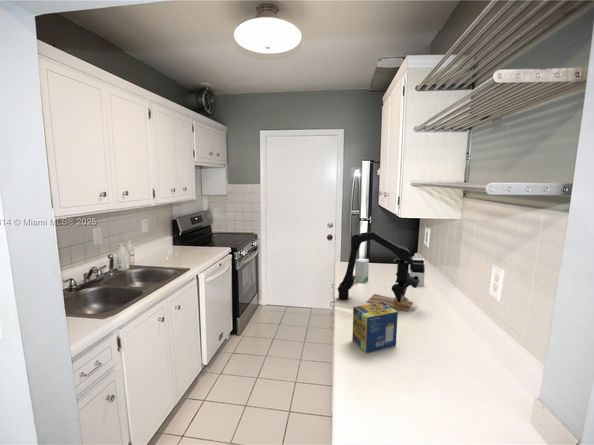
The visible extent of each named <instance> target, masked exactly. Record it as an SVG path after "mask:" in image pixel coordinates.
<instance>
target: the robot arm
mask: <svg viewBox="0 0 594 445" xmlns="http://www.w3.org/2000/svg"><path fill="white" fill-rule="evenodd" d="M371 240H373V241H374V242H376V243H377V244H379V245H380V246H382V247H384V248H386V249H388V250H390V251H391V252H392V254H394V255H395V256H396V258H395V259H393V263H394V264H397V266H396V268H397V269H396V272H395V276H396V280H395V283H394V284H393V285H392V286H391V291H392V292H393V294H394V297H396V299H397V301H398V302H400V301H401V297H402V295H404V296H405V297H406V292H407V290H408V287H409V286H411V287H413V288H414V289H417V288H418V287H419V286H418V284H419V282H420V281H419V278H418V276H414V277H413V276H412V277H411V276H410V270H411V271H412V272H415V273H424V261H425V259H424V260H413V259H412V256H411V254H410V250H409V249H408V248H407V247H405V246H403V245H400V244H396V243H394V242H393V241H391V240H389V239H388V238H385V237H384V236H382V235H381V234H379V233H377V232H376V231H374V230H371V231H367V232H362V233H360V232H355V233H353V235H351V238H350V253H349V254H350V255H349V258H348V263H347V267H346V271H345V275H344V277H343V279H342V282H340V283H339V285H338V286H337V291H338V297H337V299H336V301H337V300H340V301H347V300H349V295H350V294H349V293H350V290H351V288H352V287H354V285H355V277H356V276H355V275H354V271H355V262H356V260H357V259H358V258H357V257H358V252H359V248H360V247H361V244H362V243H365V242H367V241H371Z"/></svg>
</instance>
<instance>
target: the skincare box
mask: <svg viewBox="0 0 594 445" xmlns="http://www.w3.org/2000/svg"><path fill="white" fill-rule="evenodd" d="M369 263H370V259H369V258H356V262H355V267H354V271H355V273H354V276H356V277H355V280H354V284H363V285H365V284H367V283H369V268H370V267H369V266H370V265H369Z"/></svg>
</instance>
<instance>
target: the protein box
mask: <svg viewBox="0 0 594 445" xmlns="http://www.w3.org/2000/svg"><path fill="white" fill-rule="evenodd" d="M398 313H399V312H398V310H396V309H393V308H391V307H390V306H388V305H386V304H385V303H383V302H379V303H373V304H371V303H367V304H363V305H358V306H353V309H352V340H351V341H353V342H354V344H356V345H357V346H358V348H360V349H361V351H363V353H365V354H366V353H367V354H369V353H370V352H371V353H372V352H376V351H380V350H385V349H388V348H393V347H397V346H396V345H397V332H398V317H399V316H398V315H399V314H398Z"/></svg>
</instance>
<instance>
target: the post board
mask: <svg viewBox="0 0 594 445" xmlns="http://www.w3.org/2000/svg"><path fill="white" fill-rule="evenodd" d="M405 297H406V295H405V296H404V295H402V297H401V301H405ZM379 302H383V303H385V304H386V305H388V306H390V307H391V308H393V309H394V310H396V311H400V312H406V313H408V312H409V311H410V309H411V307H412V305H413V304H414V302H413V301H410V300H409V301H408V307H406V308H400V307H397V306H395V305H394V297H390V296H386V295H385V296H384V295H380V294H377V293H374V294H372V296H371V297H370V298H369V299H368V300H367V301H366V303H367V304H373V303H379Z"/></svg>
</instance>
